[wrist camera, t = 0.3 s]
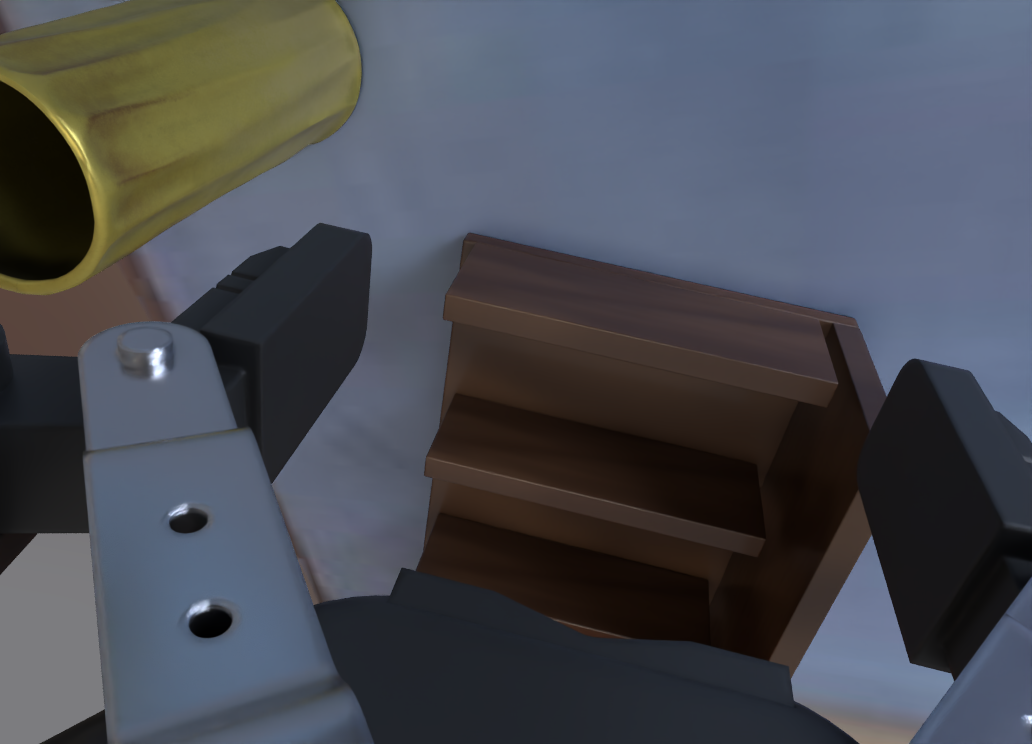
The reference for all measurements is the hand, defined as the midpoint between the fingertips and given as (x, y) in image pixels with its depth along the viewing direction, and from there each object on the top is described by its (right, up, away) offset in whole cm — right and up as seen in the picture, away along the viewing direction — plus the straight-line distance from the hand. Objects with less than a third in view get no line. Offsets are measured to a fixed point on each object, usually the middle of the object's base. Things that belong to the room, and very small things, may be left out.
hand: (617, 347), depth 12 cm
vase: (-10, +11, +17) cm, 22 cm away
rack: (+2, -6, +24) cm, 25 cm away
